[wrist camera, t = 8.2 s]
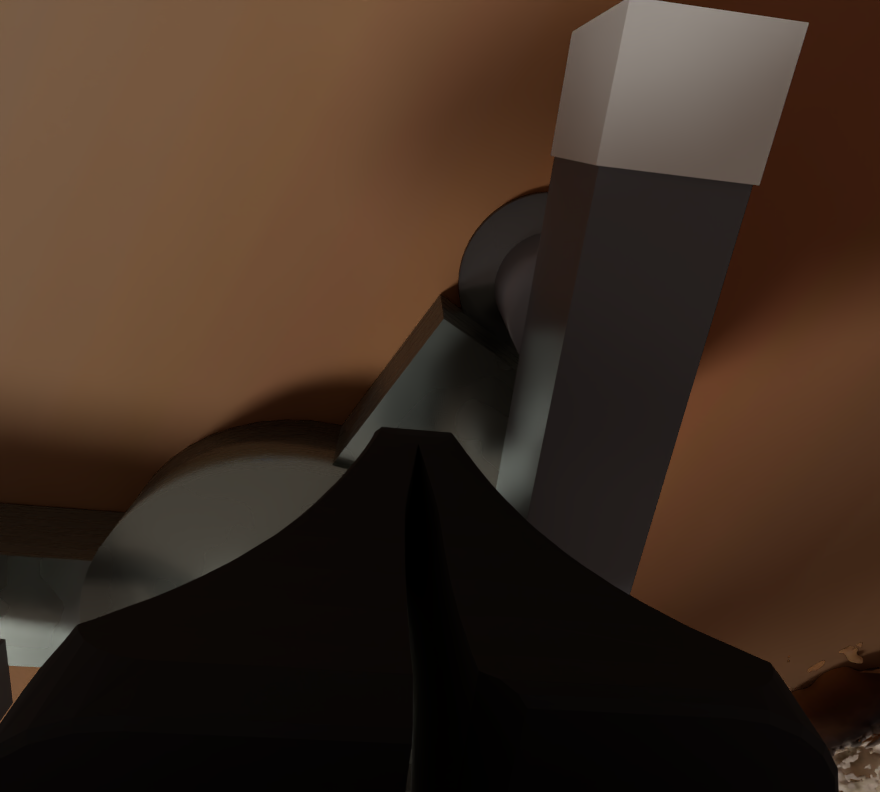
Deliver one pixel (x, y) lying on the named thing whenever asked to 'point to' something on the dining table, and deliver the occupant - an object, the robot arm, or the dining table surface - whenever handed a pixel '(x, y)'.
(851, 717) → the cream topped cake
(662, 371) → the two-tone rectangular bar
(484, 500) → the robot arm
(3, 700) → the post
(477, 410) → the levelling base
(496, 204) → the dining table surface
